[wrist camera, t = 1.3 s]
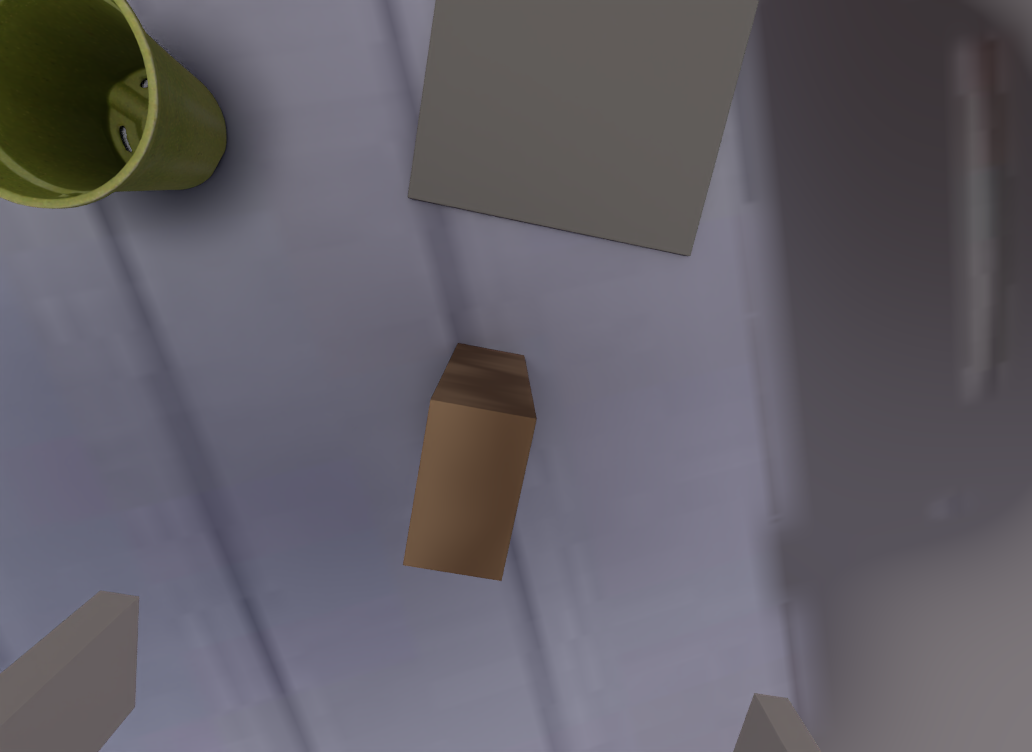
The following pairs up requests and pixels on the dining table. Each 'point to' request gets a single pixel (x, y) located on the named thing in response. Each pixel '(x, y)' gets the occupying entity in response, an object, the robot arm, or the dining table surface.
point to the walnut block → (472, 464)
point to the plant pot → (96, 107)
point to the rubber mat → (580, 112)
